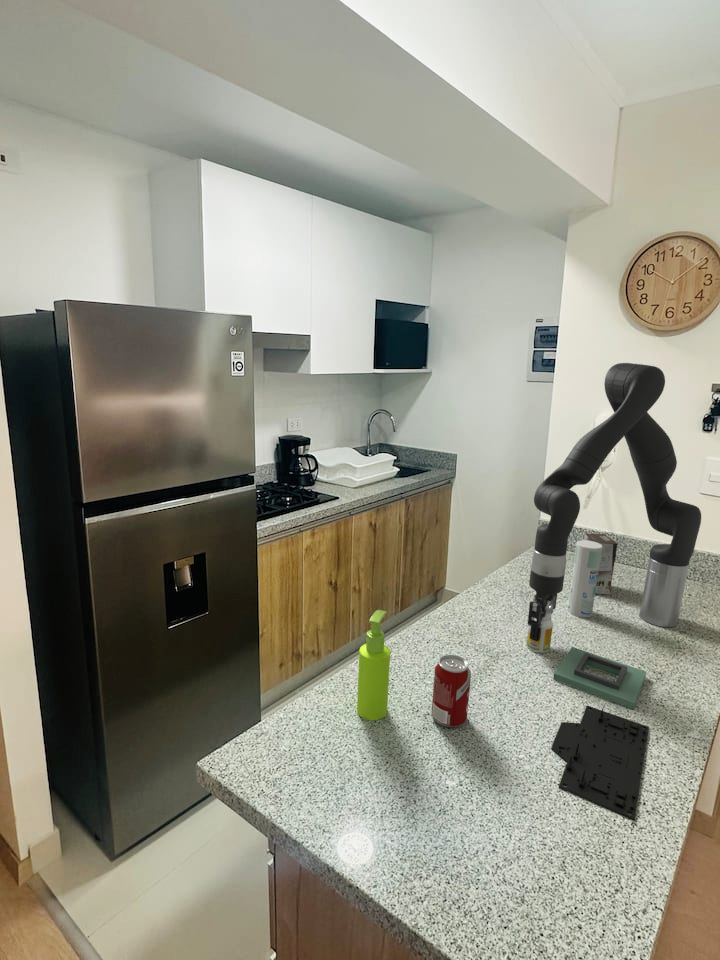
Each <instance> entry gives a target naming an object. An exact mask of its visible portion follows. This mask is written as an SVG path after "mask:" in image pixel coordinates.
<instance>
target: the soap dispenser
mask: <svg viewBox="0 0 720 960" xmlns="http://www.w3.org/2000/svg"><path fill="white" fill-rule="evenodd" d="M387 613H388V611H387V610H381V609H377V610H375V611H374V613H373V614H372V616H371V617H370V618H369V622H368V623H369V624H371V628H370V629H369V630H368V631H367V632H366V638H365V639H366V643H364V644H362V645H361V646H360V648H359V650H358V652H359V653H358V672H357V673H358V675H357V679H358V680H357V699H356V703H357V704H356V712H357V714H358V716H359V717H361V718H362V719H364V720H367V721H379V720H382V719H384V718H385V717H386V715H388V714H387V713H388V701H389V698H388V697H389V681H390V665H391V664H390V662H391V649H390V648H389V647H388V645H386V644H385V632H384V631H382V630H381V625H382V624H381V622H382V620H383V619H384V617H385V616H386V615H387Z"/></svg>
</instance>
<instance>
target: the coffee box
mask: <svg viewBox="0 0 720 960" xmlns="http://www.w3.org/2000/svg"><path fill="white" fill-rule="evenodd" d="M583 540H588V541H594V542H597V543H599V544H601V545H602V554H601V560H600V566H599V573H598V579H597V585H596V591H595V595H596V594H598V595H610V593H611V588H612V581H613V575H614V569H615V562H616V556H617V550H618V542H616V541H615V540H613V539H612V538H611V537H609V536H608V535H606V534H605V533H584V539H583Z"/></svg>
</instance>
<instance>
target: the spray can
mask: <svg viewBox="0 0 720 960" xmlns="http://www.w3.org/2000/svg"><path fill="white" fill-rule="evenodd" d="M601 554H602V545H601V544H599V543H597V542H594V541H588V540H584V539H581V540H578V541H576V542H575V552H574V557H573V558H574V559H573V565H572V576H571V582H570V591H569V595H568V596H569V598H568V605H567V611H568V612H569V614H571V615H572V616H575V617H579V618H582V619H583V618H584V619H585V618H586V619H587V618H590V617H591V616H592V614H593V609H594V603H595V599H596V598H595V596H596V594H595V591H596V585H597V579H598V573H599V566H600V560H601Z"/></svg>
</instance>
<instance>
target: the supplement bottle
mask: <svg viewBox="0 0 720 960" xmlns="http://www.w3.org/2000/svg"><path fill="white" fill-rule="evenodd" d="M543 613H544V612H541V614H543ZM550 618H551V619H550ZM534 620H535V621H537V619H536V618H535V619H534ZM553 627H554V623H553V620H552V614H551V611H550V610H548V613H547V617H546V618H544V619H543V623H542V626H541V634H540V640H539V641H535V640H532V639H530V630H531V626H530V625H528V630H527V637H526V638H527V639H526V647H527V648H528V649H529V650H530V651H532V652H534V653H537V654H541V653H542V654H545V653H548V652H549V651H550V649H551V643H552V634H553Z"/></svg>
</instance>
